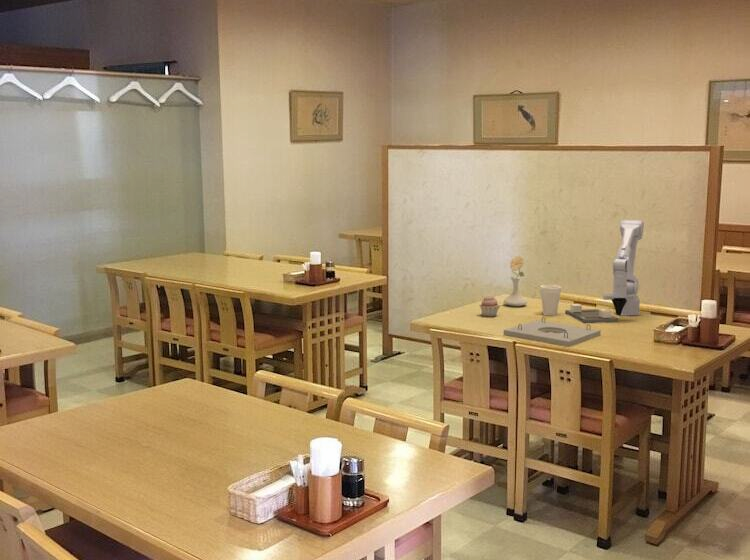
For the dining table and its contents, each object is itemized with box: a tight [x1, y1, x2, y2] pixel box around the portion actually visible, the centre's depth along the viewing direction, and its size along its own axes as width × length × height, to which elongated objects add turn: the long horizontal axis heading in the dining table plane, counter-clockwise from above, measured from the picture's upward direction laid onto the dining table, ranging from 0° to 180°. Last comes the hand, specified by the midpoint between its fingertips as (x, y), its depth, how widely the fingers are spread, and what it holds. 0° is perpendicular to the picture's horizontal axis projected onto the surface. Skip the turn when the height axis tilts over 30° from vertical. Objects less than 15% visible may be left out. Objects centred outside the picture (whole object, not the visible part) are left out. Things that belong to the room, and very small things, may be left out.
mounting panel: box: [503, 316, 602, 347], centre depth 341 cm, size 27×5×30 cm
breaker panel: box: [564, 308, 619, 324], centre depth 377 cm, size 16×22×2 cm
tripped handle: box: [598, 308, 613, 318], centre depth 370 cm, size 4×4×3 cm
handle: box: [569, 303, 583, 312], centre depth 383 cm, size 4×4×3 cm
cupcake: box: [479, 294, 501, 318], centre depth 380 cm, size 9×9×10 cm
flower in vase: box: [503, 255, 528, 307], centre depth 402 cm, size 13×11×25 cm
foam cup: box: [540, 284, 562, 316], centre depth 383 cm, size 10×9×13 cm
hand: (618, 314), depth 371 cm, fingers closed
